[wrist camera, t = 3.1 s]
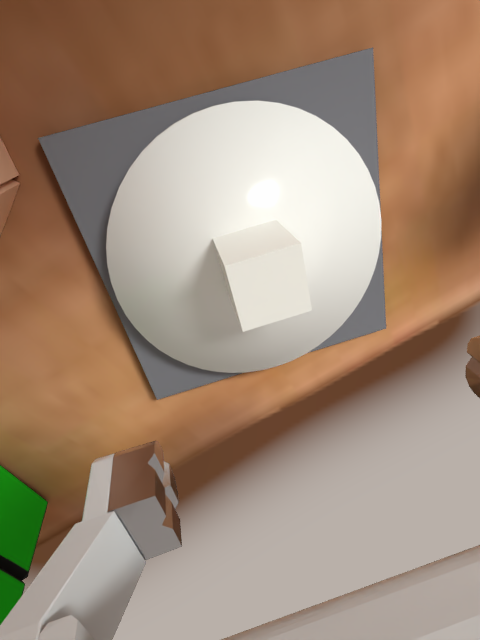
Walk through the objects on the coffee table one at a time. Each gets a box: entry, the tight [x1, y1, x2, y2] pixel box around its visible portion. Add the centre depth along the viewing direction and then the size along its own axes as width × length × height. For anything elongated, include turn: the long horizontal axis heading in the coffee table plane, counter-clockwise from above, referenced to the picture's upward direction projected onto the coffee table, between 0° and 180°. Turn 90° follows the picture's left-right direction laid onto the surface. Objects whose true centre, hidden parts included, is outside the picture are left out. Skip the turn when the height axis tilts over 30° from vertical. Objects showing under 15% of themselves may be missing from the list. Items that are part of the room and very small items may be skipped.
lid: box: [106, 101, 381, 373], centre depth 17 cm, size 13×13×4 cm
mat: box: [38, 48, 386, 400], centre depth 19 cm, size 14×14×1 cm
